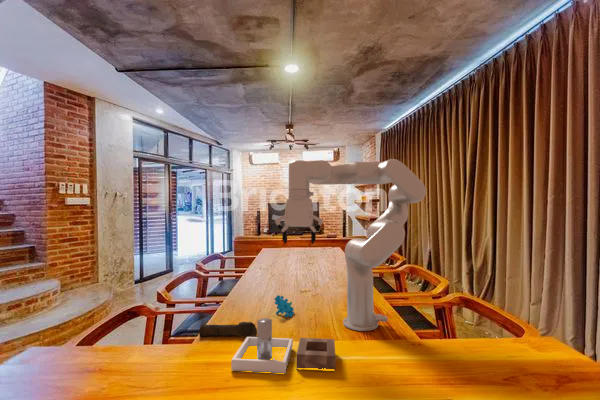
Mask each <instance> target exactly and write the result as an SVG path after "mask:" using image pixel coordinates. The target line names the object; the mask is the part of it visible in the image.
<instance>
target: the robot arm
mask: <svg viewBox="0 0 600 400" xmlns="http://www.w3.org/2000/svg"><path fill="white" fill-rule="evenodd" d="M390 183H392V184H393V185H392V186H391V187H390V188H389V190H388V193H387V195H388V196H387V197H388V207H387V208H386V210H385V211H384V212H383V213H382V214H381V215H380V216H378V218H377V219H376V220H374V221H373V222H372V223H371V224H370V225H369V226H368V228H367V229H366V237H367V239H366V238H359V237H356V238H352V239H350V240H349V241H348V242H347V243H346V245H345V248H344V259H345V265H346V298H347V299H346V307H347V309H346V310H347V313H346V314H347V317H345V318H344V319H342V322H343V323H342V325H344V327H346V328H347V329H350V330H353V331H357V332H358V331H360V332H369V331H374V330H377V328H378V327H379V322H386V323H387V322H388V316H387V315H383V314H381V313H379V314H376V313H375V311H374V273H373V269H375V268H377V267H379V266H381V265H382V264H383V263H385V262H386V261H387V259H389V258H390V257H391V256H392V255H393V254H394V253H395V252H396V251H397V250H398V249H399V248H400V247H401V246H402V244H403V243H404V240H405V239H406V238H405V237H406V231H405V228H404V225H405V223H406V222H407V221H408V217H409V207H408V204H416V203H420V202H422V201H423V200H424V198H425V197H426V195H427V194H426V193H427V190H426V186H425V184H424V183H423V182H422V180H421V179H419V177H418V176H417V175H416V173H414V172H413V171H412V170H411V169H410V168H409V167H407V165H406V164H404V163H403V162H402V161H400V160H398V159H395V158H389V159H388V160H387V159H386V160H384V161H377V162H376V161H349V162H346V163H343V164H336V165H331V163H330V162H328V161H326V160H321V159H319V160H311V161H309V160H307V161H306V160H303V159H302V160H299V159H296V160H291V161H290V162H289V164H288V198H287V199H286V202H285V208H284V210H285V211H284V215H282V216H279V217H278V218H275V219H274V223H275V224H276V227H277V228H278V229H279V230H280V231H281V233H282V234H281V235H282V239H281V240H282V242H283V244H284V245H285V244H287V243H288V232H287V230H288V229H289V227H290V228H309V229H310V230H311V233H310V238H311V239H310V241H311V242H310V243H311V245H314V242H316V241H317V240H316V235H317V234H316V233H317V231H318V230H319V229H320V228H321V226H322V224H323V223H324V219H322V218H320V217H318V216H317V215H315V214H314V206H313V200H312V199H311V198H310V197H314V191H310V184H312V185H386V184H390ZM283 220H284V226H283V225H282V224H281V222H282V221H283ZM314 220H315V221H317V222H318V223H317V225H316V226H314Z"/></svg>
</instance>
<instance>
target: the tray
mask: <svg viewBox="0 0 600 400" xmlns="http://www.w3.org/2000/svg"><path fill="white" fill-rule="evenodd" d="M293 340H294V339H293V338H288V337H287V338H283V337H282V338H281V337H272V347H285V348H286V347H287V349H286V353H285V356H284V359H283V361H278V360H275V359H274V358H273V360H259V359H241V358H242V357H243V355H244V353H245V352H246V350H247V348H248V347H249V346H257V336H252V337H245V339H244V340H243V342H242V343H241V345H240V347H239V348H238V349H237V351H236V352H235V353H234V355H233V357H232V358H231V363H230V365H231V370H233V371H252V372H271V373H284V374H286V375H287V371H286V369H287V370H288V368H287V365H288V366H289V364H288V362H289V363H290V360H289V358H290V359H291V357H290V354H291V355H292V353H291V350H292V351H293V349H292V347H293Z"/></svg>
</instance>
